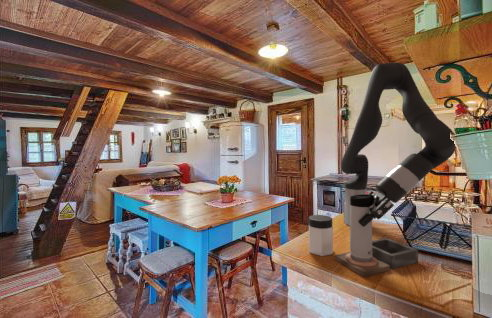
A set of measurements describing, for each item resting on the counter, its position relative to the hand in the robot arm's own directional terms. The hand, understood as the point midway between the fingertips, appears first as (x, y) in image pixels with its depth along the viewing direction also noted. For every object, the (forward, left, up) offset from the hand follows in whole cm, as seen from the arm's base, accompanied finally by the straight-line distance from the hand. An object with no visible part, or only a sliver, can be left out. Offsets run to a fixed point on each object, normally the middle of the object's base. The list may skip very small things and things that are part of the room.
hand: (356, 220), depth 77 cm
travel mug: (+1, +1, -12) cm, 12 cm away
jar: (-13, -4, -14) cm, 20 cm away
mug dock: (+1, +7, -14) cm, 16 cm away
